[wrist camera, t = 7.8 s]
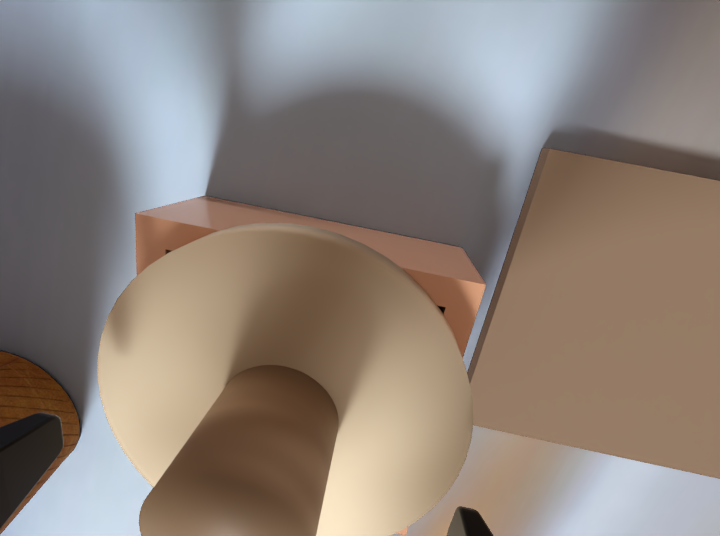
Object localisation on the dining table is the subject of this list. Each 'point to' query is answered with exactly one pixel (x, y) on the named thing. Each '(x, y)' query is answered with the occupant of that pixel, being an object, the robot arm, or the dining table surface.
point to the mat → (608, 315)
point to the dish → (416, 256)
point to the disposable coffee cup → (35, 407)
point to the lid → (284, 387)
